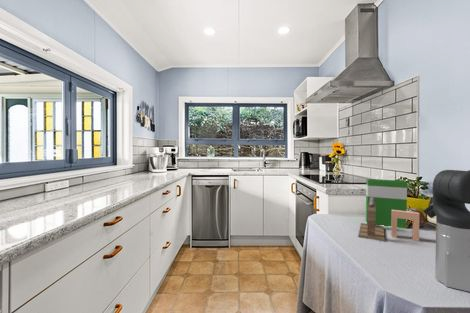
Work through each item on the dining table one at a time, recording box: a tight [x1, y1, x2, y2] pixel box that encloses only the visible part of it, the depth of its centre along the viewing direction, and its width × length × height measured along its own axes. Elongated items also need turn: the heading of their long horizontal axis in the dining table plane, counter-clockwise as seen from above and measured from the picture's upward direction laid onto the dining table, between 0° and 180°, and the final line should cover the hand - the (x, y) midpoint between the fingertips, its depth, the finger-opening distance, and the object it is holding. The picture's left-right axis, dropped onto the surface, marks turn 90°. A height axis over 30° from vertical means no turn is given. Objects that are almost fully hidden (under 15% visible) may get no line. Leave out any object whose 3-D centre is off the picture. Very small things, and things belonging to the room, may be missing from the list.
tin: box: [407, 207, 426, 227], centre depth 128 cm, size 15×3×8 cm, turn 168°
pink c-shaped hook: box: [390, 210, 420, 242], centre depth 106 cm, size 3×10×12 cm, turn 59°
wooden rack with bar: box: [357, 197, 385, 242], centre depth 113 cm, size 21×10×16 cm, turn 149°
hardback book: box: [365, 178, 408, 229], centre depth 126 cm, size 18×7×24 cm, turn 66°
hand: (426, 214), depth 101 cm, fingers open, 8 cm apart
